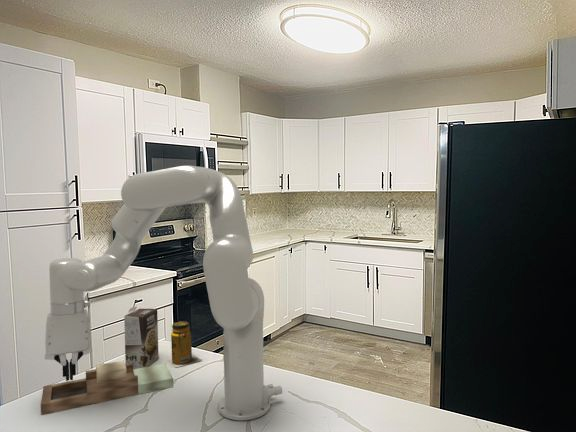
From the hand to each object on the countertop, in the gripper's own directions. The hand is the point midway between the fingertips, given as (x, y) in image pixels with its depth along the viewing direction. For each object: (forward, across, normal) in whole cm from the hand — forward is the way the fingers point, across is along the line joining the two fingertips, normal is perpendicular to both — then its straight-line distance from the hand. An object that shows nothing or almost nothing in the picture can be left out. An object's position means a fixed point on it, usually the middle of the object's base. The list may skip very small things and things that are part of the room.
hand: (69, 378), depth 109 cm
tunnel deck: (+5, -10, 0) cm, 11 cm away
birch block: (+3, -10, 0) cm, 10 cm away
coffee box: (+6, -20, -15) cm, 25 cm away
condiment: (+5, -32, -11) cm, 34 cm away
